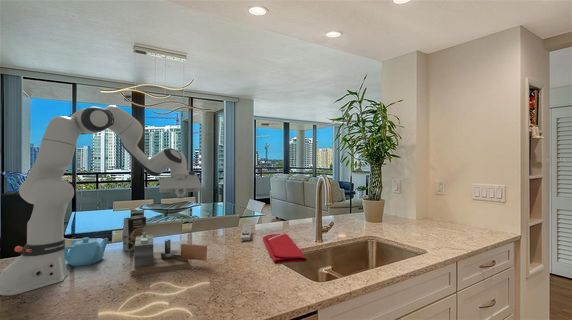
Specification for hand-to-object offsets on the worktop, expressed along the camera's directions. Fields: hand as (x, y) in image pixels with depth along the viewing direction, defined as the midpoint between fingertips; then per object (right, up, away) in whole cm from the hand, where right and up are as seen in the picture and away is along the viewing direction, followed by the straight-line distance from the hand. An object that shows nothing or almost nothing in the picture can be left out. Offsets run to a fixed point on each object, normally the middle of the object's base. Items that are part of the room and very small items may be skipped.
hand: (181, 197), depth 149 cm
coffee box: (-26, -27, +6) cm, 38 cm away
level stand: (-4, -27, -17) cm, 32 cm away
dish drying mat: (+50, -28, +6) cm, 58 cm away
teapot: (-38, -27, -15) cm, 49 cm away
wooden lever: (+7, -25, -16) cm, 30 cm away
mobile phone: (+28, -28, +31) cm, 51 cm away
